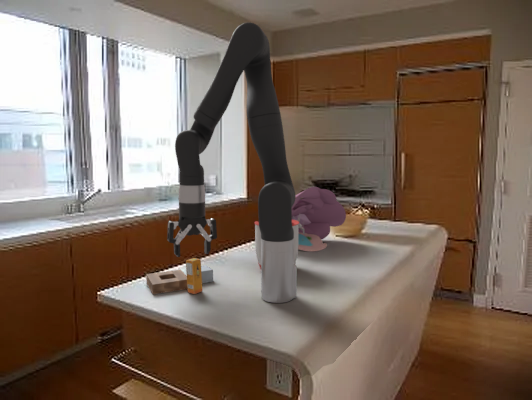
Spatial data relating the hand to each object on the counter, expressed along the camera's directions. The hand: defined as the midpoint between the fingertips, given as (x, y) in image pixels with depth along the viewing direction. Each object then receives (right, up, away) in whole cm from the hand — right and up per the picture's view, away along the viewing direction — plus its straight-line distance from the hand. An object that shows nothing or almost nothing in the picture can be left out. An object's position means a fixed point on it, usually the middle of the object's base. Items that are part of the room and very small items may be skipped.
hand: (192, 254), depth 119 cm
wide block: (+1, -10, +12) cm, 16 cm away
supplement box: (0, -11, +1) cm, 12 cm away
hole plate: (-9, -11, +7) cm, 15 cm away
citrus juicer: (+25, -8, +24) cm, 36 cm away
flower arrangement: (+39, -4, +58) cm, 69 cm away
